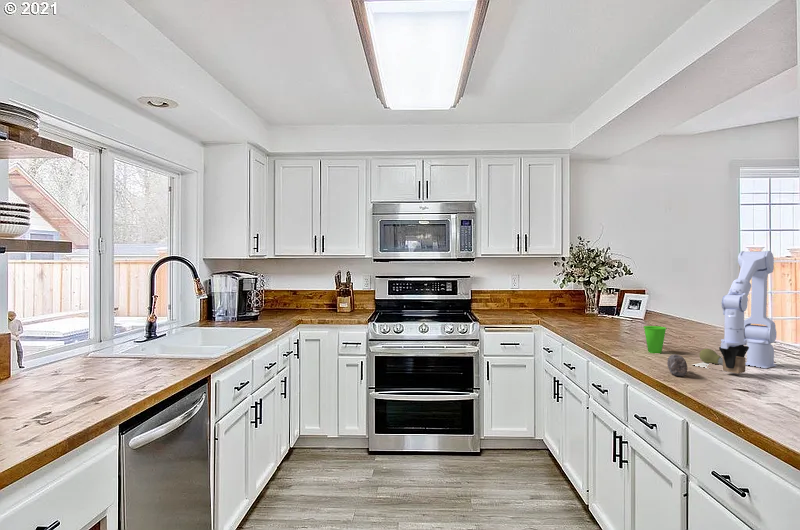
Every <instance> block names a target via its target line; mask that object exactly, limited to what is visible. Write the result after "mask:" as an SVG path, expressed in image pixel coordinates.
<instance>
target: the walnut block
mask: <svg viewBox="0 0 800 530" xmlns="http://www.w3.org/2000/svg"><path fill="white" fill-rule="evenodd" d="M722 358H723V371H722V372H725V371H727V373H731V372H732V373H733V374H743V373H746V365H745V363H746V357H745V356H744V357H738V356H736V359H735V366H734V368H733V369H732V368H727V367H726V364H725V360H724V357H723V356H722ZM732 373H731V374H732Z"/></svg>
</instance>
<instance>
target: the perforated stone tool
mask: <svg viewBox="0 0 800 530" xmlns="http://www.w3.org/2000/svg"><path fill="white" fill-rule="evenodd" d="M666 362H667V368H668V370H669V372H670V373H671V374H672V375H673V376H677V377H685V376H687V373H688V368H689V367H688V364H687V363H688V362H687V360H686V359H685V358H684V357H683V356H681V355H680V354H670V355H669V356H668V359H667V361H666Z"/></svg>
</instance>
